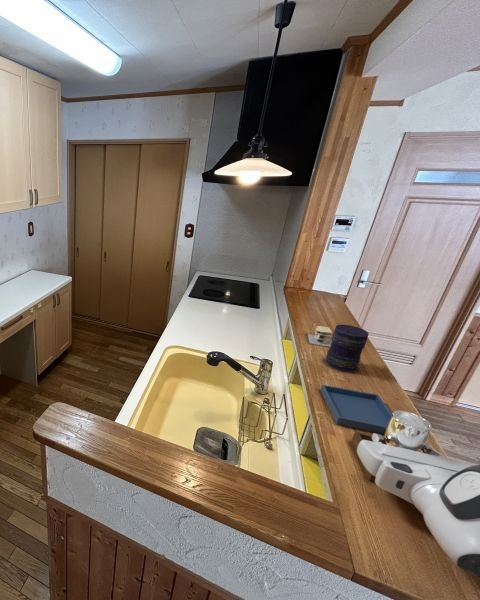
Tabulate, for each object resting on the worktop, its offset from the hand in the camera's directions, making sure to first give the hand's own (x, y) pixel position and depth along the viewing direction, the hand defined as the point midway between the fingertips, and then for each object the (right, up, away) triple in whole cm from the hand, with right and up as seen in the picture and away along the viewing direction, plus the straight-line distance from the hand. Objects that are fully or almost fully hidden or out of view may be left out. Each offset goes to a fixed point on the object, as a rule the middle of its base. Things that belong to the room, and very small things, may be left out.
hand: (400, 441), depth 78 cm
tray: (+8, 0, +21) cm, 23 cm away
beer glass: (0, -8, +2) cm, 8 cm away
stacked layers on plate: (+29, +16, +65) cm, 73 cm away
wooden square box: (0, -8, +2) cm, 8 cm away
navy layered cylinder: (+23, +9, +46) cm, 52 cm away
